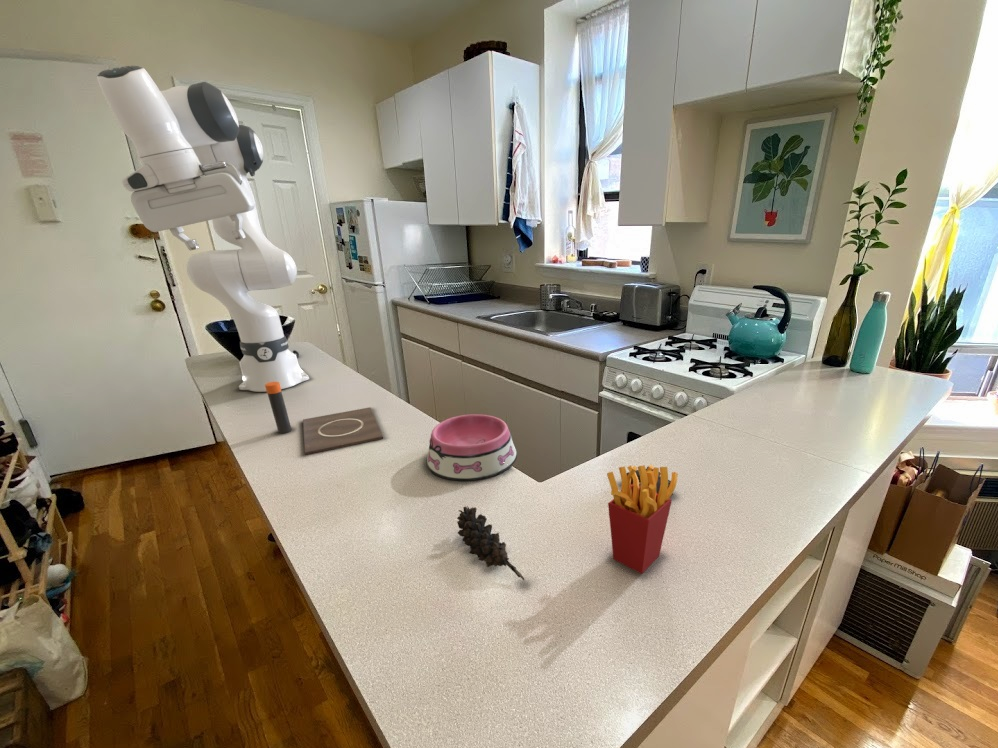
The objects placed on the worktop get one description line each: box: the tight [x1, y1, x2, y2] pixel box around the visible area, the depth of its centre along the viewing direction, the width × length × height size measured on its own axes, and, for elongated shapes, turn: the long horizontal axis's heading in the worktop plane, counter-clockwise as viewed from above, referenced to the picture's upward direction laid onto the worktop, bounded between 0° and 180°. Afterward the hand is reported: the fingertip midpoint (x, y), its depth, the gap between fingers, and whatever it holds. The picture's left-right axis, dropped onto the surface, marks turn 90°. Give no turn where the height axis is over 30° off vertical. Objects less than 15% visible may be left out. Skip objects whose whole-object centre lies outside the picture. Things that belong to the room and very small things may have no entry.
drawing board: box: [302, 406, 384, 456], centre depth 110 cm, size 20×16×1 cm
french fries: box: [606, 464, 678, 575], centre depth 66 cm, size 9×8×15 cm
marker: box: [265, 382, 293, 434], centre depth 108 cm, size 3×3×12 cm
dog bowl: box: [426, 413, 518, 482], centre depth 95 cm, size 18×19×7 cm
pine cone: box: [456, 505, 525, 581], centre depth 67 cm, size 18×5×5 cm, turn 34°
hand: (218, 244), depth 96 cm, fingers open, 8 cm apart
